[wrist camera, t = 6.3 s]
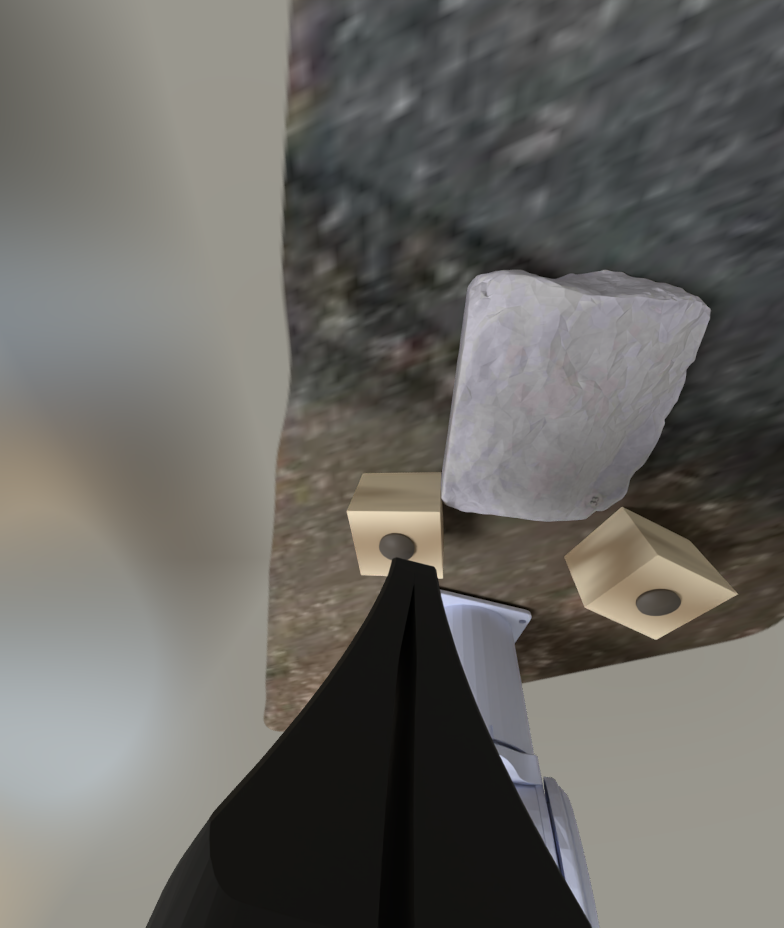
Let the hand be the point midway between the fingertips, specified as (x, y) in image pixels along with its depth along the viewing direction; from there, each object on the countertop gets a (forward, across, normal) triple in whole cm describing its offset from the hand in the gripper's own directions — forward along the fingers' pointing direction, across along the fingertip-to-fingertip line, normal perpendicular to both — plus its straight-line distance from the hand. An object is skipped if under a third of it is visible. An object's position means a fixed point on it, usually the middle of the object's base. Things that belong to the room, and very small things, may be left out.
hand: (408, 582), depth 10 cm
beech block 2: (+10, -14, +4) cm, 18 cm away
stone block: (+10, -5, -4) cm, 12 cm away
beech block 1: (+10, 0, +5) cm, 11 cm away
